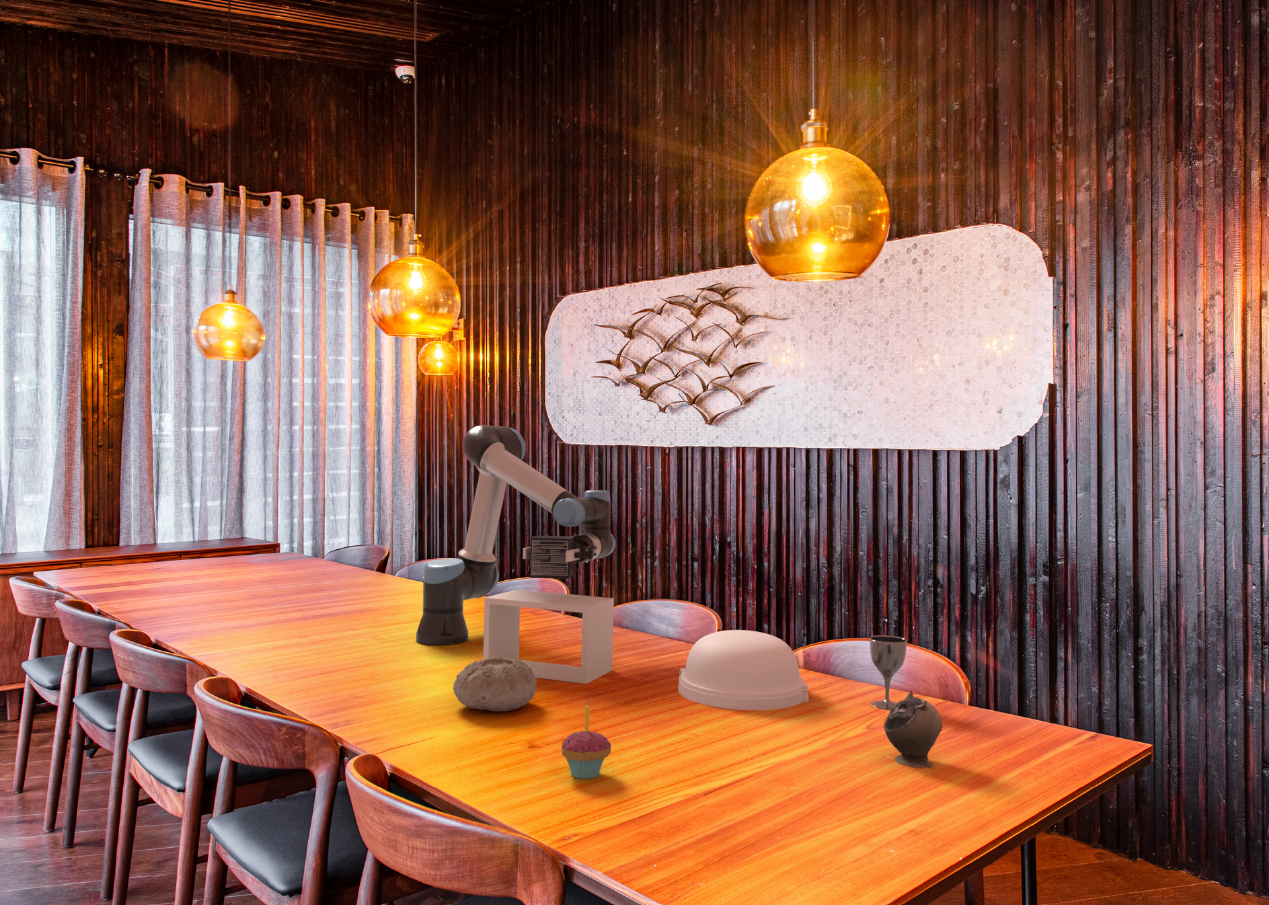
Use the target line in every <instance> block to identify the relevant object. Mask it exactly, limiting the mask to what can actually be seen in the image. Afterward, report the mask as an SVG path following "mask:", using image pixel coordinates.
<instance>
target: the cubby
mask: <svg viewBox="0 0 1269 905" xmlns="http://www.w3.org/2000/svg"><path fill="white" fill-rule="evenodd" d="M614 601H615V600H614V597H603V596H595V595H594V596H592V595H582V594H581V595H579V594H567V593H557V592H545V591H534V590H533V591H532V590H521V589H512V590H509V591H506V592H501V593H498V594H494V595H490V596H487V597H484V608H483V609H484V615H483V617H484V618H483V619H484V620H483V652H482V653H483V657H482V660H483V659H488V658H489V657H491V658H494V657H498V658H500V657H502V658H504V659H516V660H520V661H522V662H523V663H525V664H526V665H528V667H531V668H532V671H533V673H534V675H535V677H536V678H537V679H545V680H552V681H553V680H554V681H560V682H561V681H562V682H568V683H569V682H571V683H577V684H582V685H583V684H585V685H587V684H589V683H591V682H593V681H595V680H597V679H598V678H601V677H602V676H604V675H606V674H608V673H610V672H611V671H613V656H614V654H613V652H614V651H613V650H614V607H615V606H614V603H615V602H614ZM521 608H527V609H537V610H538V609H539V610H549V611H561V612H570V613H571V612H572V613H581V614H582V620H581V622H582V624H581V629H582V630H581V660H580V661H581V663H580V664H581V666H575V665H568V664H559V663H551V662H541V661H536V660H535V661H532V660H526V659H525V660H524V659H519V658H520V657H519V656H520V654H519V653H520V622H521V621H520V616H521V615H520V614H521Z"/></svg>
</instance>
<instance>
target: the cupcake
mask: <svg viewBox="0 0 1269 905" xmlns="http://www.w3.org/2000/svg"><path fill="white" fill-rule="evenodd" d="M584 712H585V713H584V731H583V730H580V731H576V732H573V733H571V734H569V735H567V737H566V738H565V739H564V740H563V741H562V743H561V744H562V745H561V755H562V756H563V757H564V758H565V760H566V762H567V764H568V767H569V770H570V773H571V776H572V777H574V778H576V779H580V780H581V779H582V780H585V779H586V780H589V779H594V778H596V777H598V776H599V775H600V773H601V772H600V771H601V769H602V765H603V763H604V760H605V758H607V757H608V756H610V754H611V753H612V742H610V741H609V739H608V738H607V737H606V736H604V734H601V733H599V732H596V731H591V730H589V729H590V728H589V727H590V726H589V725H590V723H589V722H590V705H589V701H588V700H586V705H585V706H584Z"/></svg>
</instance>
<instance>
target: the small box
mask: <svg viewBox="0 0 1269 905" xmlns="http://www.w3.org/2000/svg"><path fill="white" fill-rule="evenodd" d="M530 545H531V553H530V558H529V559H530V560H529V561H530V563H529V564H530V565H529V569H530V570H529V579H553V580H555V579H557V580H559V579H561V580H570V579H572V578H573V577H574V564H575V562H574V561H570V562H566V551H568V550H573V549H574V537H572V536H561V535H559V536H558V535H533V536H530Z"/></svg>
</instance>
